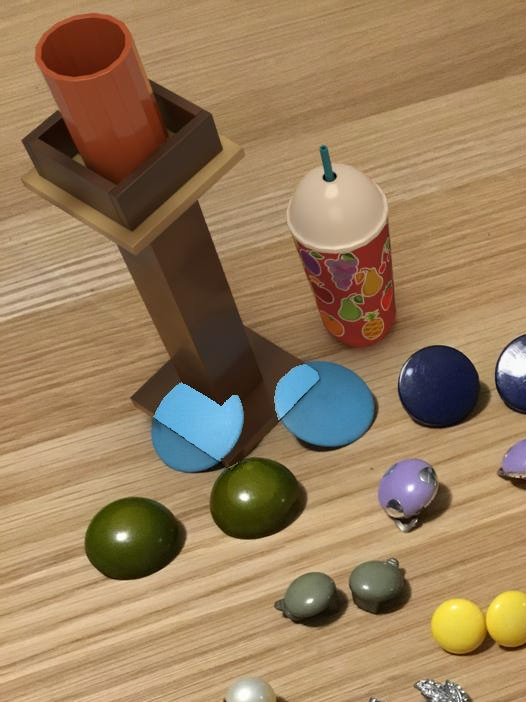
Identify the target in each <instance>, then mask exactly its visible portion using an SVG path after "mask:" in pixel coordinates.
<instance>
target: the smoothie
mask: <svg viewBox="0 0 526 702" xmlns="http://www.w3.org/2000/svg"><path fill="white" fill-rule="evenodd" d="M318 151H319V155H320V159H321V164H320V165H318V166H315V167H313V168H312V169H310V170H309V171H308V172H307V173H306V174H304V175H303V177H302V178H301V179H300V180H299V182H298V183H297V184H296V186H295V188H294V191H293V194H292V196H291V198H290V199H289V201H288V203H287V207H286V211H285V219H286V226H287V229H288V230H289V231H290V235H291V238H292V240H293V243H294V245H295V248H296V251H297V253H298V257H299V260H300V262H301V265H302V268H303V271H304V273H305V276H306V279H307V282H308V284H309V287H310V290H311V293H312V297H313V299H314V302H315V304H316V307H317V309H318V313H319V315H320V318H321V321H322V323H323V324H322V325H323V326H324V327H325V329H326V331H327V332H328V334H330V335H331V336H333V337H334V338H335V339H336V340H338V341H339V342H341V343H342V344H344V345H346V346H349V347H354V348H355V347H358V348H362V347H363V348H364V347H368V346H372V345H374V344H376V343H379V342H380V341H381V340H383V338H385V337H386V336H387V335H388V333H389V331H390V329H391V327H392V325H393V324H394V322H395V321H396V315H397V304H396V303H397V302H396V291H395V288H396V287H395V278H394V265H393V255H392V243H391V241H392V240H391V231H390V230H391V229H390V227H391V226H390V218H389V211H390V210H389V202H388V197H387V196H386V194H385V193H384V190H383V189H382V187H381V186H380V185H378V184H377V183H376V182H374V181H373V179H371V178H370V177H369V176H368V174H366V173H364V172H363V171H362V170H360V169H359V168H357V167H356V166H353V165H349V164H347V163H343V162H331V157H330V152H329V147H328V145H325V144H321V145H320V146H319V150H318Z"/></svg>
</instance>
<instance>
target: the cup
mask: <svg viewBox="0 0 526 702" xmlns="http://www.w3.org/2000/svg"><path fill="white" fill-rule="evenodd" d="M34 47H35V48H34V49H35V50H34V61H35V64H36V66H37V68H38V69H39V72H40V74H41V76H42V78H43V79H42V80H43V81H44V83H45V85H46V87H47V89H48V91H49V93H50V96H51V98H52V100H53V102H54V104H55V107H56V110H58V111H59V113H60V115H61V117H62V119H63V121H64V124H65V126H66V128H67V130H68V132H69V134H70V136H71V139H72V141H73V143H74V145H75V147H76V149H77V151H78V154H79V156H80V158H81V160H82V162H83V164H84V166H85V167H87V168H88V169H90V170H92V171H93V172H95V173H97V174H98V175H100V176H102V177H103V178H105V179H107V180H108V181H110V182H112V183H113V184H115V185H116V186H117V185H118V184H119V183H121V182H122V181H123V180H124V179H125V178H126V177H127V176H128V175H130V174H131V173H132V172H133V171H134V170H135V169H136V168H138V167H139V166H140V165H141V164H142V163H143V162H144V161H146V160H147V159H148V158H149V157H150V156H151V155H152V154H153V153H155V152H156V151H157V150H158V149H159V148H160V147H161V146H163V145H164V144H165V143H166V142H167V141H168V140H169V139H170V137H169V134H168V132H167V129H166V126H165V123H164V121H163V118H162V115H161V113H160V110H159V107H158V104H157V102H156V99H155V96H154V94H153V91H152V88H151V86H150V83H149V80H148V79H149V78H148V75H147V72H146V69H145V66H144V65H143V61H142V59H141V56H140V52H139V50H138V48H137V44H136V42H135V39H134V37H133V34H132V32H131V31H130V29H129V28H128V26H127V25H126V23H125V22H124V21H122V20H120V19H118V18H116V17H115V16H113V15H112V14H104V13H98V12H89V13H81V14H74V15H72V16H70V17H66V18H64V19H62V20H60V21H56V23H54V24H53V25H52V26H51V27H49V28H48V29H47V30H46V31H44V32H43V33H42V35H41V37H40V38H39V39H38V42H37V43H36V45H35V46H34Z"/></svg>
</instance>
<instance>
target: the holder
mask: <svg viewBox="0 0 526 702" xmlns="http://www.w3.org/2000/svg"><path fill="white" fill-rule="evenodd" d="M148 80H149V83H150V86H151V88H152V91H153V94H154V96H155V99H156V102H157V104H158V107H159V110H160V113H161V115H162V118H163V121H164V123H165V126H166V129H167V132H168V134H169V137H170V139H169V140H168V141H167V142H166V143H165V144H164V145H163V146H161V147H160V148H159V149H158V150H157V151H156V152H155V153H153V154H152V155H151V156H150V157H149V158H148V159H147V160H146V161H144V162H143V163H142V164H141V165H140V166H139V167H138V168H136V169H135V170H134V171H133V172H132V173H131V174H130V175H128V176H127V177H126V178H125V179H124V180H123V181H122V182H121V183H119V184H118V185H117V186H116V185H115V184H113V183H112V182H110V181H108V180H107V179H105V178H103V177H102V176H100V175H98V174H97V173H95V172H93V171H92V170H90V169H88V168H87V167H85V166H84V164H83V162H82V160H81V158H80V156H79V154H78V151H77V149H76V147H75V145H74V143H73V141H72V139H71V136H70V134H69V132H68V130H67V128H66V126H65V124H64V121H63V119H62V117H61V115H60V113H59V111H58V109H56V110H55V111H54V112H53V113H52V114H50V115H49V116H48V117H47V118H46V119H45V120H43V121H42V122H41V123H40V124H39V125H37V126H36V127H35V128H33V130H31V131H30V132H29V133H28V134H27V135H25V136H24V137H23V138H22V139H21V140H20V141H21V143H22V145H23V147H24V149H25V151H26V153H27V155H28V156H29V158H30V161H31V163H32V164H33V167H32V168H30V169H29V170H28V171H26V173H24V174H23V175H22V176H21V177H20V178H19V180H20V182H21V183H22V185H23V187H24V188H26V189H27V190H29V191H30V192H32V193H34V194H35V195H37V196H38V197H40V198H42V199H43V200H45V201H46V202H48V203H50V204H51V205H53V206H54V207H56V208H58V209H59V210H61V211H63V212H64V213H65V214H67V215H69V216H70V217H73V218H74V219H75V220H78V221H79V222H80V223H82V224H84V225H85V226H87V227H89V228H90V229H92V230H93V231H95V232H97V233H98V234H100V235H101V236H103V237H105V238H106V239H108V240H110V241H112V242H113V243H114V244H116V246H117V249H118V251H119V253H120V256H121V257H122V259H123V262H124V264H125V265H126V267H127V270H128V272H129V274H130V276H131V278H132V281H133V282H134V285H135V287H136V289H137V291H138V293H139V295H140V297H141V299H142V301H143V304H144V306H145V308H146V310H147V312H148V315H149V316H150V319H151V320H152V322H153V325H154V326H155V329H156V331H157V334H158V336H159V337H160V338H159V339H161V342H162V344H163V346H164V348H165V350H166V352H167V354H168V356H169V359H168V360H167V361H166V362H165V363H164V364H163V365H162V366H161V367H160V368H159V369H157V371H156V372H155V373H154V374H152V376H150V377H149V379H148V380H147V381H145V382H144V384H142V385H141V387H139V388H138V389H137V390H136V391H135V392H134V393H133V394H132V395H131V396H130V397H129V398H130V400H131V403H132V404H133V406H134V407H135V408H137V409H139V410H140V411H142V412H143V413H145V414H146V415H148V416H149V417H150V418H152V419H154V418H153V416H154V415H155V412H156V410H157V408H158V407H159V405H160V403H161V401H162V400H163V398H164V397H165V396H166V395H167V394H168V393H169V392H170V391H171V390H172V389H173V388H174V387H175V386H176V385H178V384H179V383H181V382H182V383H183V384H186V385H188V386H190V387H191V388H193V389H195V390H196V391H198V392H200V393H202V394H203V395H205V396H207V397H208V398H210V399H211V400H213V401H215V402H216V403H217V404H219V405H220V406H222V405H223V404H224V402H226V400H228V399H229V398H230V397H231V396H232V395H238V396H239V398H240V400H241V403H242V406H243V411H244V424H243V428H242V433H241V435H240V438H239V440H238V442H237V444H236V445H235V446H234V448H233V450H232V451H231V452H230V453H229V454H228V455H226V456H225V457H224V458H221V460H222V464H223V465H222V464H221V465H222V466H223V467H224V468H226V469H228V467H230V466H232V465H234V464H236V463H237V462H239V461H241V460H242V461H243V460H244V459H245V458H246V457H247V456H248V454H250V452H252V450H253V449H254V448H255V447H256V446H257V445H258V444H259V443H260V442H261V441H262V440H263V439H264V438H265V437H266V436H267V435H268V434H269V433H270V432H271V431H272V430H273V429H274V428H275V426H276V425H278V424H279V423H280V421H279V420H278V417H277V413H276V411H275V403H274V396H275V390H276V386H277V383H278V382H279V380H280V379H281V378H282V377H283V376H285V374H287V373H288V372H289V371H290V370H291V369H292V368H294V367H296V366H299V365H303V364H307V363H306V362H305V361H303V360H301V359H300V358H298V357H296V356H295V355H293V354H291V352H288V351H287V350H285V349H284V348H282V347H280V346H279V345H277V344H276V343H274V342H272V341H270V340H269V339H267V338H265V337H264V336H262V334H260V333H258V332H256V331H254V330H253V329H251V328H249V327H248V326H246V325H245V324H244V323H243V320H242V317H241V315H240V312H239V309H238V306H237V303H236V300H235V297H234V296H233V293H232V289H231V287H230V284H229V281H228V279H227V275H226V273H225V271H224V270H225V269H224V268H223V264H222V262H221V260H220V256H219V254H218V251H217V248H216V245H215V242H214V240H213V237H212V234H211V231H210V229H209V226H208V224H207V221H206V218H205V215H204V212H203V210H202V206H201V204H200V202H199V199H200V198H202V196H204V195H205V194H206V193H207V192H208V191H209V190H210V189H211V188H212V187H214V185H215V184H217V183H218V182H220V181H221V179H222V178H223V177H224V176H226V175H227V174H228V173H229V172H230V171H231V170H232V169H233V168H234V167H235V166H236V165H238V164H239V163H240V162H241V161H242V160H243V159H244V158H245V157H246V153H245V150H244V147H243V146H241V145H240V144H238V143H236V142H235V141H233V140H231V139H229V138H228V137H226V136H224V135H222V134H220V133H219V132H218V129H217V125H216V122H215V118H214V116H213V114H212V113H211V112H210V111H208V110H206V109H204V108H203V107H201V106H199V105H198V104H195V103H193V102H192V101H190V100H188V99H187V98H186V97H183V96H181V95H180V94H178V93H176V92H174V91H172V90H170V89H168V88H166V87H165V86H163V85H161V84H160V83H157V82H156V81H154V80H152V79H151V78H148ZM264 436H265V437H264ZM262 438H263V439H262ZM260 440H261V441H260ZM242 461H241V462H242Z"/></svg>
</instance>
